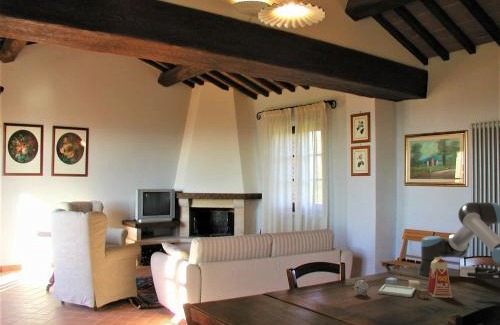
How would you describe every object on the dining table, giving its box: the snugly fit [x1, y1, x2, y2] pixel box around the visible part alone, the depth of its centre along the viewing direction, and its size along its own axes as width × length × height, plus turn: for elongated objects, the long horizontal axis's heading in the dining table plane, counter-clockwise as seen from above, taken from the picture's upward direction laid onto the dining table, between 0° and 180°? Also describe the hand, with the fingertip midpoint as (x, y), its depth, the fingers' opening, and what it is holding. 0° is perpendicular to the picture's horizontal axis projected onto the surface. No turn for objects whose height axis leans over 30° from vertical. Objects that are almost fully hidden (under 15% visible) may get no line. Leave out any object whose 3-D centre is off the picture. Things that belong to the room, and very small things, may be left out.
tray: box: [378, 283, 416, 298], centre depth 235 cm, size 16×16×2 cm
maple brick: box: [408, 279, 421, 291], centre depth 243 cm, size 5×5×4 cm
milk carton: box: [427, 256, 453, 298], centre depth 230 cm, size 9×9×20 cm
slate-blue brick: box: [385, 277, 398, 286], centre depth 249 cm, size 6×4×4 cm, turn 137°
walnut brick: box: [416, 287, 430, 300], centre depth 225 cm, size 4×4×4 cm
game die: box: [351, 278, 372, 297], centre depth 228 cm, size 9×8×10 cm
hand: (460, 270), depth 226 cm, fingers open, 13 cm apart
